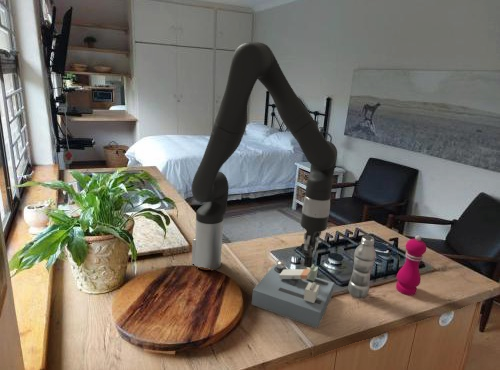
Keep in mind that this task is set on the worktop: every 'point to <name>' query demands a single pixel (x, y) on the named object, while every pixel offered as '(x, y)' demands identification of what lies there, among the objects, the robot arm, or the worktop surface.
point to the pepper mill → (411, 267)
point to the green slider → (313, 272)
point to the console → (292, 297)
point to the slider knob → (311, 292)
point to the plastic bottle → (362, 268)
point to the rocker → (295, 274)
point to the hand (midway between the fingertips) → (308, 265)
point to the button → (281, 265)
